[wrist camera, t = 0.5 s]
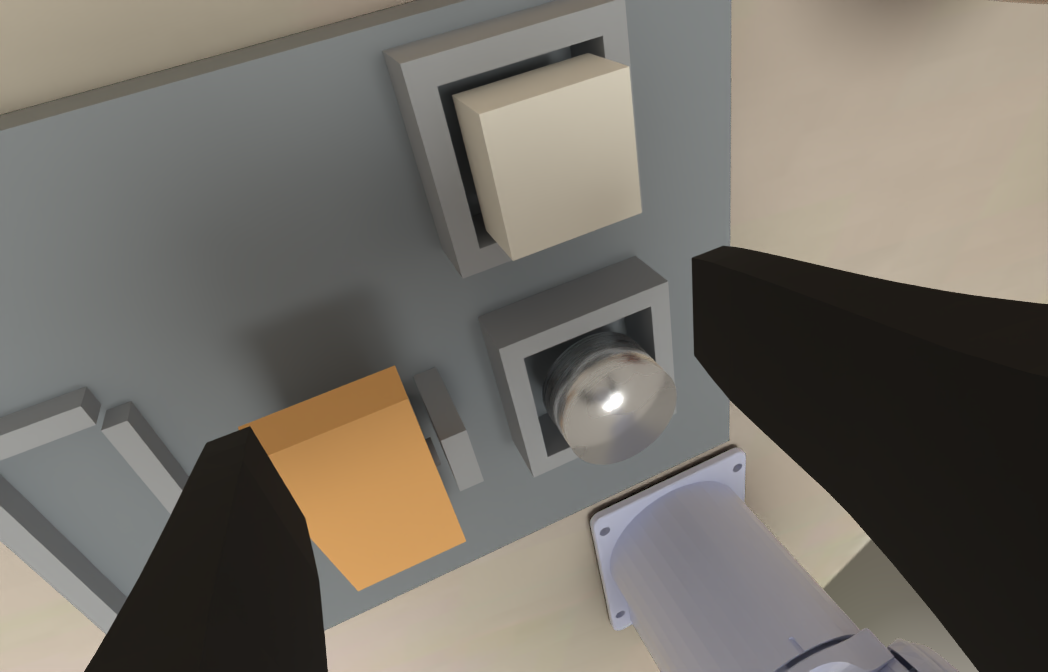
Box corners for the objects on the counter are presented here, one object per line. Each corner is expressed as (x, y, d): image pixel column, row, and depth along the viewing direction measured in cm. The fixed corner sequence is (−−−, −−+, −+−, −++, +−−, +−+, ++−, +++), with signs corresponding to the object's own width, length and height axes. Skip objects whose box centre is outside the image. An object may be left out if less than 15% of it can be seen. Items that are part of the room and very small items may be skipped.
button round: (647, 400, 20) (679, 435, 19) (552, 442, 20) (577, 481, 18) (639, 315, 18) (673, 347, 17) (532, 358, 18) (559, 395, 16)
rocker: (455, 501, 21) (470, 539, 20) (342, 552, 20) (353, 593, 19) (396, 350, 14) (414, 395, 14) (228, 415, 14) (237, 468, 13)
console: (700, 411, 27) (779, 491, 24) (184, 646, 23) (176, 791, 19) (684, -74, 17) (823, -76, 13) (-275, 190, 12) (-504, 308, 9)
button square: (604, 187, 16) (641, 212, 14) (485, 230, 15) (512, 261, 14) (588, 52, 14) (629, 66, 12) (451, 94, 13) (479, 114, 12)
